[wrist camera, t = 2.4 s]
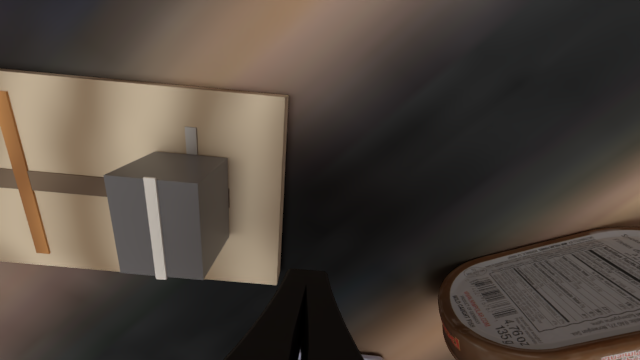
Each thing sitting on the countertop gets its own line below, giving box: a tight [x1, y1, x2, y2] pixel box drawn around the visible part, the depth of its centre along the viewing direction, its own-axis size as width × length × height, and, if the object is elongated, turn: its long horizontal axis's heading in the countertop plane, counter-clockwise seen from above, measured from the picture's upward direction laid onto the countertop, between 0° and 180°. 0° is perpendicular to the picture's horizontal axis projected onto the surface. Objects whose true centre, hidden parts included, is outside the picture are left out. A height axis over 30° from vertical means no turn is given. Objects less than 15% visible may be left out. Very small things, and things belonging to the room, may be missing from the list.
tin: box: [438, 227, 640, 360], centre depth 16 cm, size 15×3×8 cm, turn 109°
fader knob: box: [103, 151, 229, 280], centre depth 15 cm, size 4×5×4 cm
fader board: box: [0, 69, 289, 285], centre depth 18 cm, size 22×12×2 cm, turn 85°
